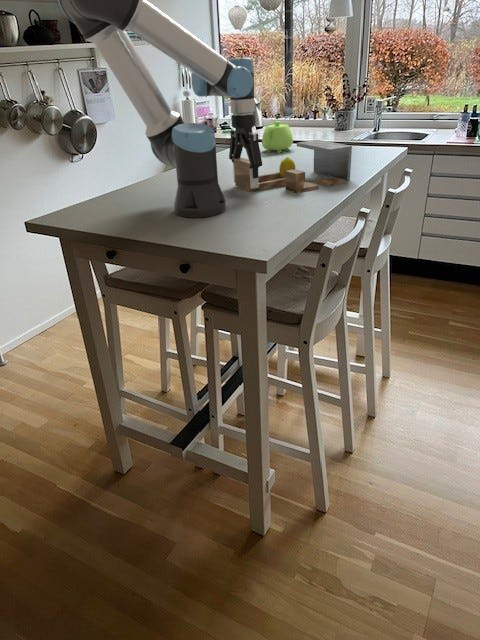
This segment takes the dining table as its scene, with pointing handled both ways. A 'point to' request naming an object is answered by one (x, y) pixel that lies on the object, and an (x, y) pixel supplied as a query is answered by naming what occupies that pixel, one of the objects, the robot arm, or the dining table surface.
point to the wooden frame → (244, 176)
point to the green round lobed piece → (277, 137)
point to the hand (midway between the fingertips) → (246, 184)
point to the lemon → (286, 166)
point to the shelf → (330, 158)
